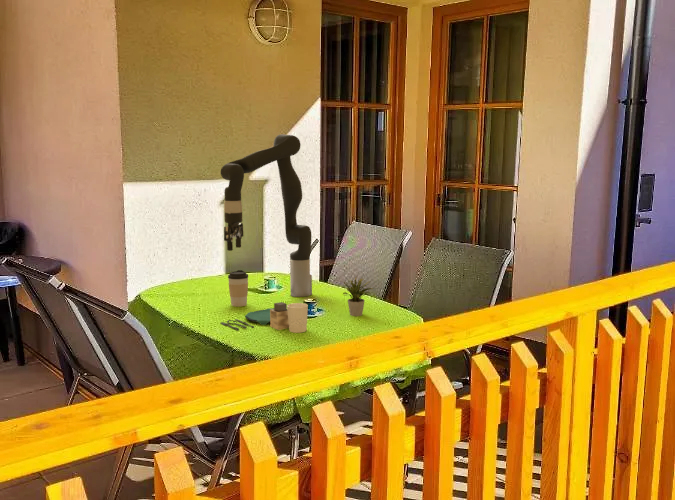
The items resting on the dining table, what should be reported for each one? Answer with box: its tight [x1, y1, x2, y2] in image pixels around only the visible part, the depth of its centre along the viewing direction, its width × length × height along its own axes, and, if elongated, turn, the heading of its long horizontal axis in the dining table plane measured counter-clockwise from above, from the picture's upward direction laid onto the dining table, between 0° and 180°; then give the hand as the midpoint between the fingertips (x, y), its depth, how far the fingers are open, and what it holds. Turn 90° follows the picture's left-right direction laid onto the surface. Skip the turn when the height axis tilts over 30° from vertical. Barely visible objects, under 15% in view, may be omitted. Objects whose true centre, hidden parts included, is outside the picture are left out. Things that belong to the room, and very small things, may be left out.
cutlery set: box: [220, 307, 274, 331], centre depth 285 cm, size 20×30×2 cm, turn 126°
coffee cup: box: [227, 269, 249, 307], centre depth 310 cm, size 9×9×15 cm
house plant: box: [341, 277, 374, 317], centre depth 291 cm, size 14×14×16 cm
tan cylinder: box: [287, 302, 309, 334], centre depth 269 cm, size 8×8×10 cm
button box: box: [269, 309, 289, 331], centre depth 274 cm, size 6×6×7 cm
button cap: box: [273, 301, 288, 311], centre depth 274 cm, size 4×4×2 cm
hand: (234, 249), depth 299 cm, fingers open, 8 cm apart
